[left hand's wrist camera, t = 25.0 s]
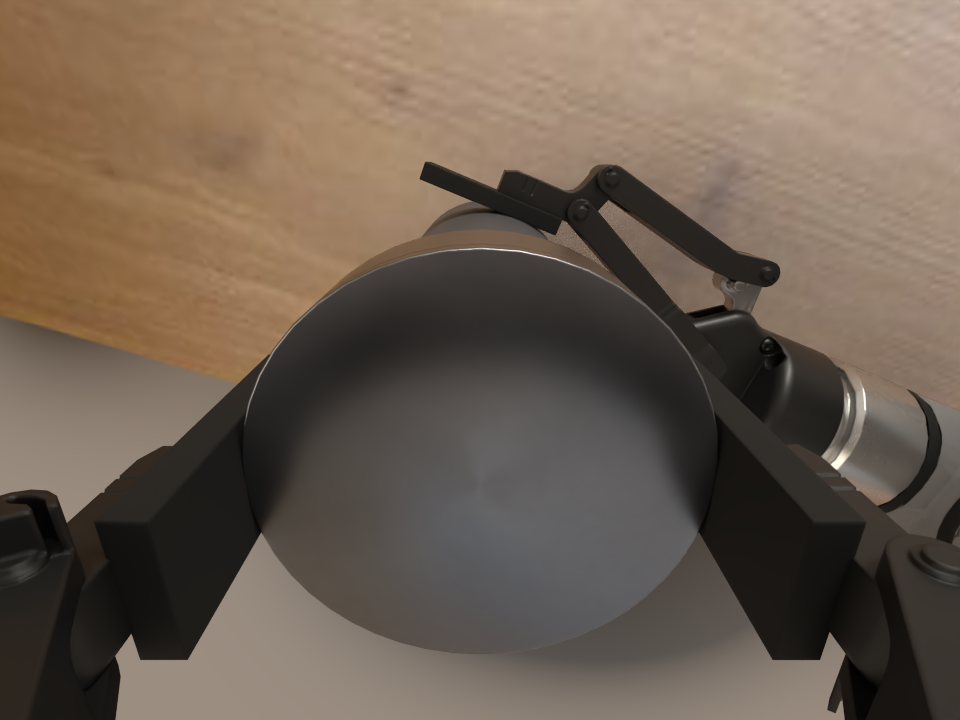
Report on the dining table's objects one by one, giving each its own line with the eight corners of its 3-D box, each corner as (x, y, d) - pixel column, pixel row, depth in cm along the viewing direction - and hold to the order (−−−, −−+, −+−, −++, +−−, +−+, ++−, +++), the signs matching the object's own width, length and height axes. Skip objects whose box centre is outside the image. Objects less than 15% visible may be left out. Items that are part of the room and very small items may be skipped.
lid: (762, 365, 12) (823, 411, 10) (537, 627, 15) (547, 706, 13) (394, 137, 10) (372, 133, 8) (224, 487, 13) (175, 551, 11)
